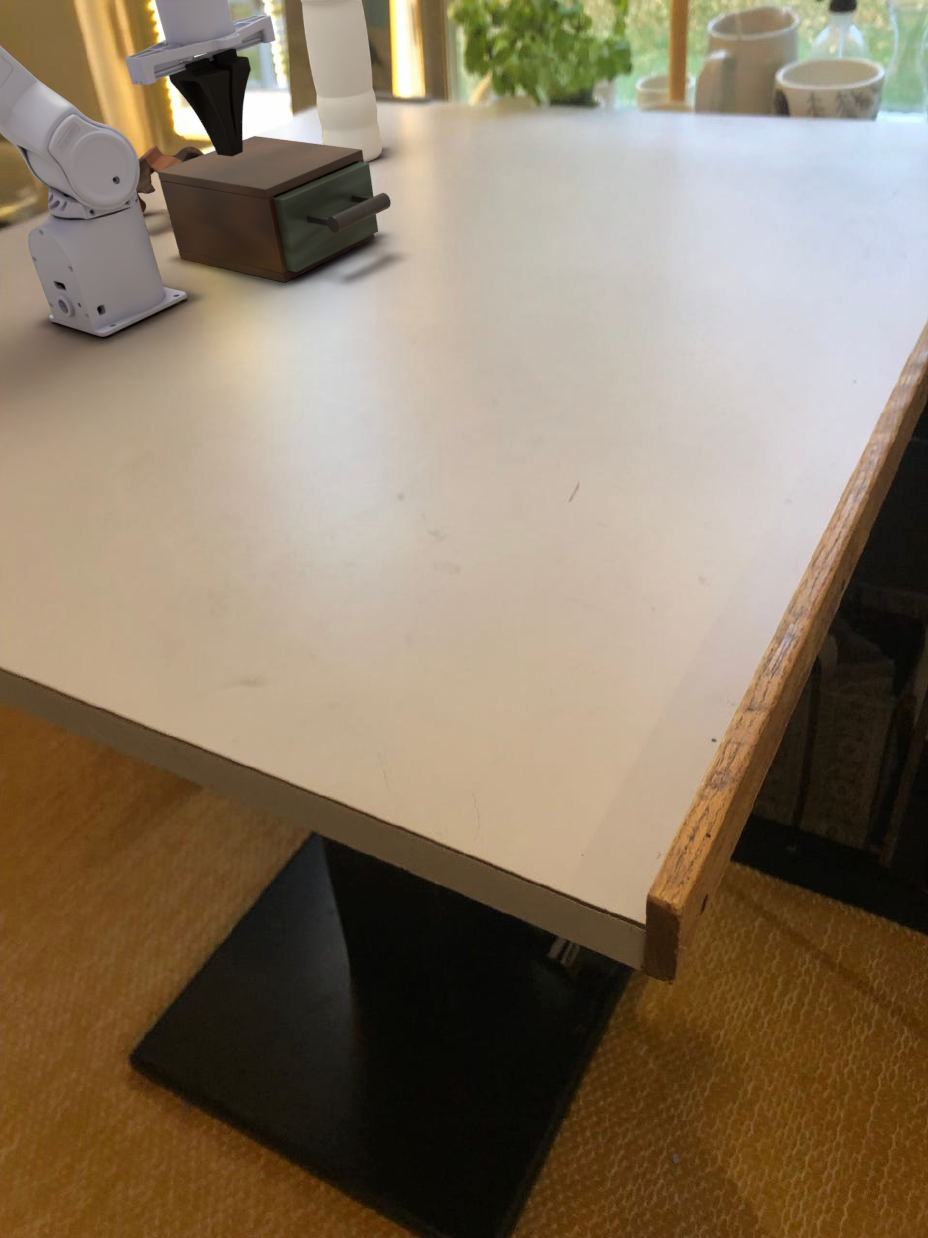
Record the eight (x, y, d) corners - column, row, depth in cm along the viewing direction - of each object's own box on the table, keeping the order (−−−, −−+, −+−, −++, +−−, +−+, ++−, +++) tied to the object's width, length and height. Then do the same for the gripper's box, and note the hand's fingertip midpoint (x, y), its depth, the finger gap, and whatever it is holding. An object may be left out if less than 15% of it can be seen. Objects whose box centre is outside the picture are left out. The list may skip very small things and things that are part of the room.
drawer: (411, 237, 93) (403, 167, 89) (329, 279, 86) (316, 205, 82) (280, 213, 101) (268, 148, 97) (197, 250, 95) (180, 182, 91)
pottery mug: (182, 243, 101) (122, 174, 97) (143, 270, 108) (85, 206, 104) (247, 178, 106) (193, 109, 102) (205, 207, 113) (153, 144, 109)
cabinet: (374, 237, 96) (362, 149, 91) (284, 282, 89) (265, 189, 84) (271, 217, 104) (254, 135, 98) (180, 258, 96) (156, 171, 91)
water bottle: (317, 156, 121) (275, -93, 104) (371, 145, 122) (337, -102, 106) (336, 169, 115) (295, -91, 99) (391, 157, 117) (360, -100, 101)
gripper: (145, -8, 72) (198, 184, 81) (283, -47, 80) (318, 131, 89) (88, -8, 75) (145, 176, 84) (225, -46, 84) (264, 126, 92)
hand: (230, 153), depth 87 cm, fingers closed
